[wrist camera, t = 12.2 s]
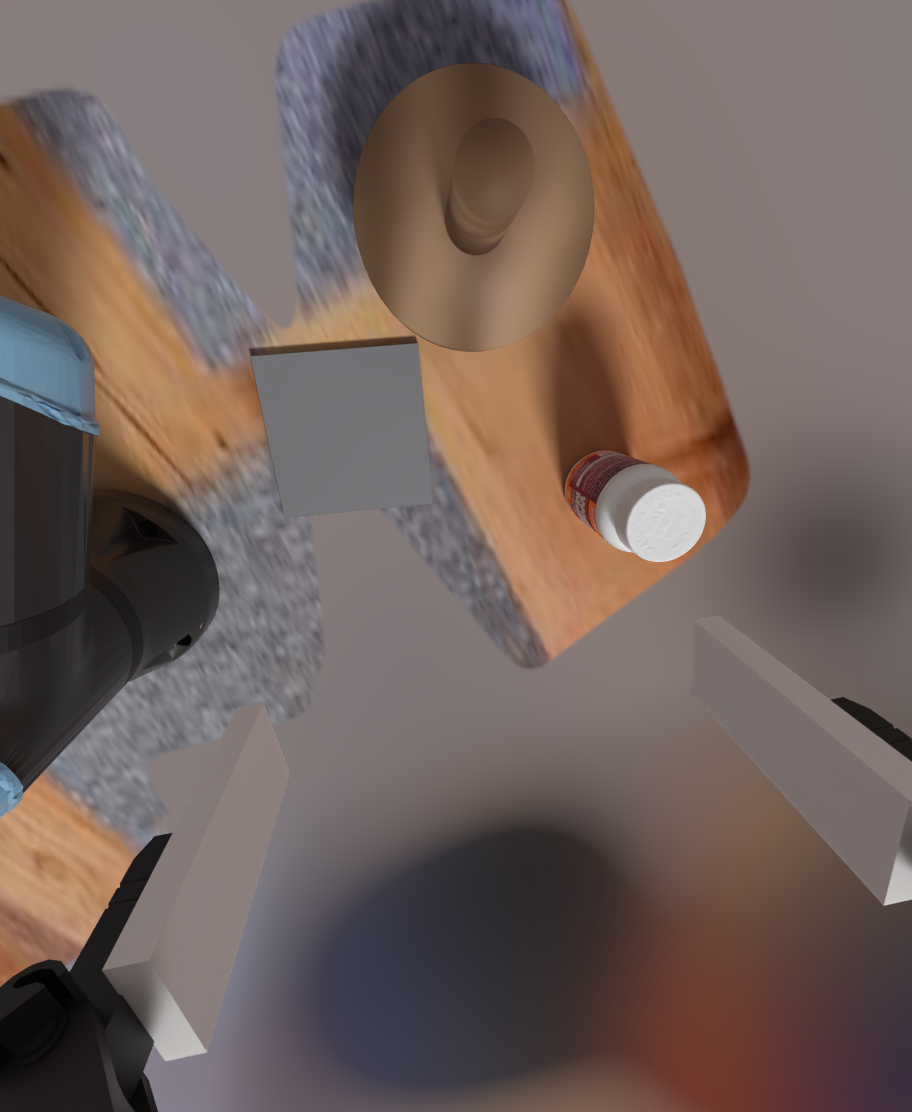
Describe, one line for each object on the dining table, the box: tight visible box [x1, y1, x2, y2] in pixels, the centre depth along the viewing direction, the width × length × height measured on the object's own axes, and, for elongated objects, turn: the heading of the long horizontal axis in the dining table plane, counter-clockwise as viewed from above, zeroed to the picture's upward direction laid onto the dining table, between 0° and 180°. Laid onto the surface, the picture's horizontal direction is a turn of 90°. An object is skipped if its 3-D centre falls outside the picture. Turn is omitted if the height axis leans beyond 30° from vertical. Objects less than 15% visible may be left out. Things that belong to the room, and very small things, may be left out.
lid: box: [353, 63, 594, 352], centre depth 25 cm, size 14×14×8 cm
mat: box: [250, 343, 433, 518], centre depth 37 cm, size 12×12×1 cm
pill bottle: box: [565, 450, 706, 562], centre depth 35 cm, size 6×6×11 cm
